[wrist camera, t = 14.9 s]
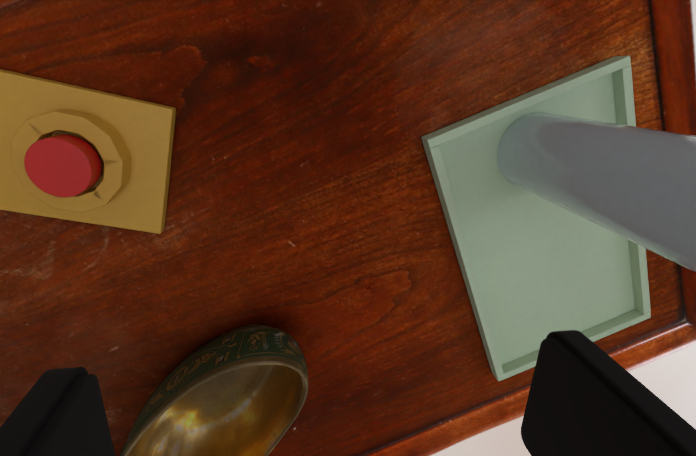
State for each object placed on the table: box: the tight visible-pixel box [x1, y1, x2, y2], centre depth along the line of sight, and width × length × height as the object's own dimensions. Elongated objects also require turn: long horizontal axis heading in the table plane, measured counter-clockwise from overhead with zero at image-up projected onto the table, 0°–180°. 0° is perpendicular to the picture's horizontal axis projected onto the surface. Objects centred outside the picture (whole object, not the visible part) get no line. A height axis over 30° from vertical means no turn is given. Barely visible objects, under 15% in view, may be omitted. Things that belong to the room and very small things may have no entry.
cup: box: [120, 325, 308, 456], centre depth 35 cm, size 13×20×10 cm, turn 106°
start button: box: [24, 134, 101, 197], centre depth 28 cm, size 4×4×2 cm
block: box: [0, 69, 176, 234], centre depth 29 cm, size 10×12×3 cm
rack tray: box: [421, 56, 651, 381], centre depth 39 cm, size 28×18×2 cm, turn 21°
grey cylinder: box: [497, 112, 696, 272], centre depth 25 cm, size 7×7×24 cm
